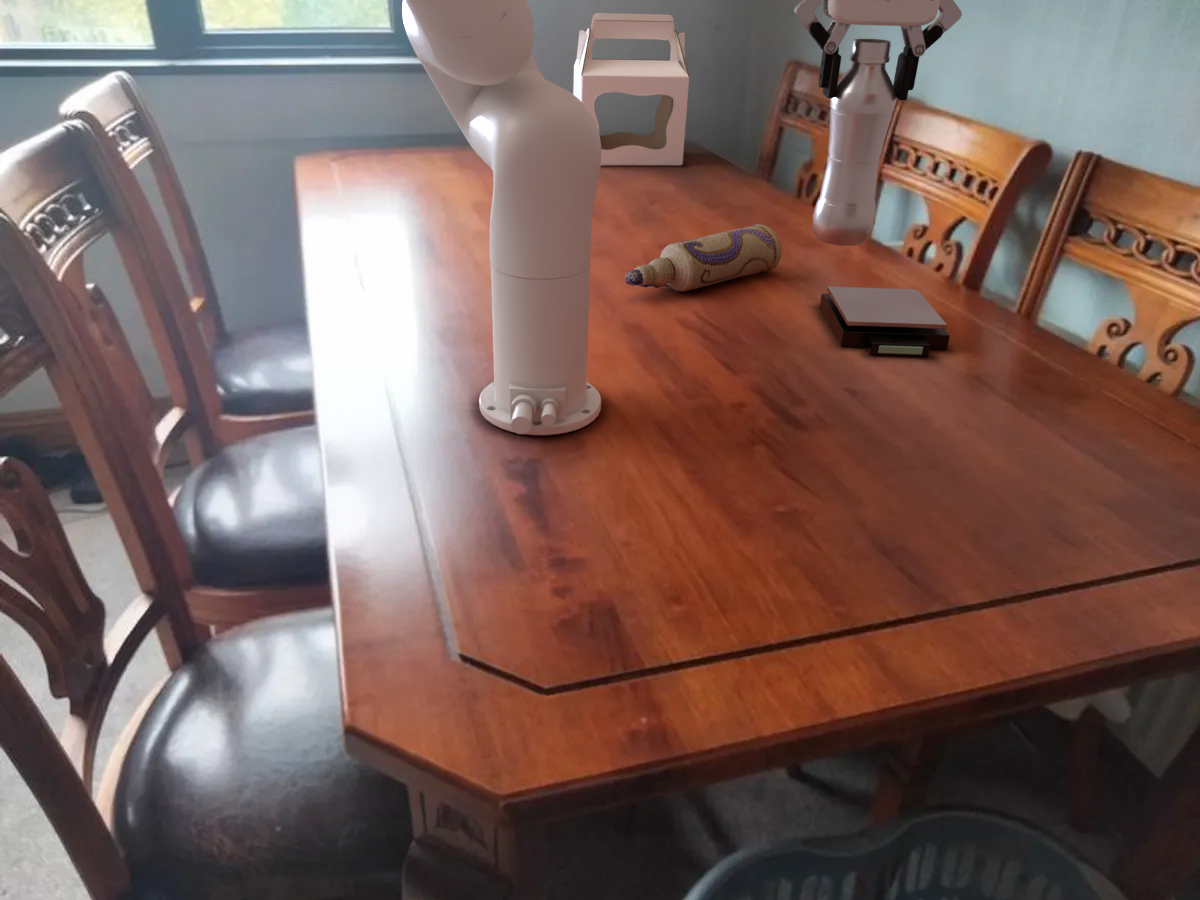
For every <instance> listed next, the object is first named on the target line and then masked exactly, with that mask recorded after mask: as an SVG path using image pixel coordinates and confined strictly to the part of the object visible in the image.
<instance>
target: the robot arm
mask: <svg viewBox="0 0 1200 900" xmlns="http://www.w3.org/2000/svg"><path fill="white" fill-rule="evenodd" d="M821 4H822V11H823V14H824V15H825V16H827V17H828V18H829V19H831V21H830V22H829V24H828V26H827V29H826V28H825V27H824V25H823V24H822V23H821V22H820V20H819V18H818V17H817V16H816V14H815V10H816V9H817V8H818V7H819V6H820V5H821ZM401 5H402V6H401V14H402V23H403V26H404V30H405V33H406V36H407V38H408V41H409V43H410V45H411V47H412V50H413V51H414V53H415V55H416V56H417V58H418V60H419V62H420V64H421V66H422V67H423V68H424V70H425V72H426V74H427V76H428V77H429V79H430V81H431V82H432V84H433V86H434V87H435V89H436V91H437V93H438V94H439V96H440V97H441V99H442V101H443V102H444V104H445V106H446V108H447V109H448V111H449V113H450V114H451V117H452V118H453V120H454V121H455V123H456V124H457V126H458V127H459V129H460V131H461V132H462V134H463V136H464V137H465V140H466V141H467V142H468V143H469V146H470V147H471V148H472V149H473V151H474V152H475V153H476V155H477V156H478V157H479V158H480V159H481V160H482V161H483V162H484V163H485V164H486V165H487V166H488V167H489V168H490V169H491V170H492V172H493V173H492V175H493V188H492V199H491V206H490V207H491V208H490V215H489V216H490V217H489V264H490V282H491V284H490V285H491V317H492V319H491V320H492V353H493V354H492V355H493V381H491V382H490V383H489V384H488V385H486V386H485V387H484V388H483V389H482V391H481V393H480V394H479V398H478V403H479V411H480V414H481V415H482V417H483V418H484V420H486V421H488V422H489V423H490V424H491V425H493V426H495V427H496V428H499V429H502V430H505V431H508V432H511V433H515V434H517V435H529V436H552V435H561V434H566V433H570V432H573V431H577V430H580V429H583V428H584V427H586V426H588V425H589V424H591V423H593V421H595V420H596V419H597V417H598V416H599V415H600V413H601V410H602V398H601V394H600V392H599V391H598V389H597V388H596V387H595V386H593V385H592V384H591V383H590V382H588V359H589V356H588V355H589V325H590V323H589V322H590V292H591V291H590V289H591V288H590V287H591V249H592V248H591V246H592V229H593V228H592V227H593V216H594V208H595V207H594V206H595V199H596V195H597V189H598V183H599V180H600V179H599V177H600V173H601V141H600V136H601V135H600V131H599V132H598V128H597V126H596V123H595V121H594V119H593V117H592V115H591V114H590V112H589V111H588V109H587V108H586V106H585V105H584V104H583V103H582V102H581V101H580V100H579V99H578V98H577V97H576V96H574V95H573V92H570V91H569V90H567V89H565V88H564V87H561V86H560V85H558V84H556V83H553V82H552V81H550V80H548V79H545V78H544V76H543V73H542V72H541V70H540V68H539V67H538V64H537V63H536V61H535V58H534V57H533V55H532V51H533V49H534V42H535V23H534V18H533V14H532V10H531V6H530V5H529V2H528V0H402V3H401ZM793 12H794V14H795V15H796V17H797V18H798V19H799V21H800V22H801V24H802V25H803V26H804V28H805V29H806V30H807V32H808V33H809V35H810V37H812V39H813V40H814V42H815V43H817V45H818V46H819V49H821V50H822V53H821V61H820V69H819V74H818V75H819V76H818V82H817V83H818V88H819V89H820V88H821V89H822V95H823V96H824V97H825V98H827V99H831V98H833V97H835V96H836V91H837V84H838V82H839V76H840V70H841V64H842V55H841V54H840V53H839V51H840V45H841V43H842V41H843V40H844V38H845V37H846V34H847V32H848V30H849V29H850V27H851V25H853V26H855V25H857V26H885V27H886V26H887V27H889V26H890V27H900V30H901V36H902V40H903V44H904V46H903V50H902V52H901V51H900V54H898V56H897V60H896V61H897V62H896V67H895V73H894V78H893V82H892V84H893V87H894V90H895V95H896V99H898V100H899V101H907V99H908V95H909V92H910V91H914V88H915V83H916V77H917V73H918V66H919V62H920V61H919V60H920V58H921V57H922V56H924V55H925V53H926V51H927V50H928V49H930V47H931V46H933V45H934V44H935V43H936V42H937V41H938V40H940V39H941V38H942V36H943V34H945V33H946V32H948V30H949V29H951V28H952V27H953V26H954V25H955V24H956V23H957V22H958V21H959V20H960V19H961V18H962V15H963V12H962V10H961V9H960V7H959V6H958V5H957V3H956V2H955V1H954V0H800V2H798V3H797V4H796V5H795V6H794V9H793ZM938 12H939V15H938ZM937 16H938V17H937ZM928 24H929V25H928ZM926 25H927V26H926ZM923 26H926V27H925V28H924V29H923V28H922V27H923Z"/></svg>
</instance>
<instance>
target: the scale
mask: <svg viewBox="0 0 1200 900" xmlns="http://www.w3.org/2000/svg"><path fill="white" fill-rule="evenodd" d="M826 291H827V293H821V295H820V301H819V310H820V312H821V313H822V315H823V316H824V319H825V320H826V322H827V324H828V326H829V328H830V330H831V332H832V333H833V335H834V337H835V339H836V341H837V342H838V345H839V346H840V347H841V348H865V349H866V351H867V353H868V354H869V356H879V357H881V356H882V357H904V358H905V357H907V358H909V357H910V358H928V357H929V353H930V351H947V349H948V345H949V341H950V337H951V335H950V334H949V332H948V331H947V330H946V329H947V325H948V324H947V322H946V321H945V320H944V319H943V318H942V316H941V315H940V314H939V313H938V312H937V311H936V309H935V308H934V307H933V305H931V303H930V302H929V301H928V300H927V299H926V297H924V295H923V294H922V293H921V291H920V290H919V289H917V288H916V289H915V288H886V287H858V286H854V287H853V286H829V285H828V286H827V288H826Z"/></svg>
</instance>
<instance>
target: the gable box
mask: <svg viewBox="0 0 1200 900" xmlns="http://www.w3.org/2000/svg"><path fill="white" fill-rule="evenodd" d="M597 39H598V40H602V39H616V40H620V39H622V40H658V41H659V40H662V41H663V42H664V41H668V43H669V45H670V46H669V58H668V59H635V58H634V59H633V58H629V59H628V58H627V59H625V58H593V44H594V42H595V41H596V40H597ZM689 88H690V74H689V70H688V67H687V63H686V32H685V31H679V32H677V30H676V29H675V19H674V17H673V16H672V15H671V14H669V13H667V14H665V13H664V14H663V13H626V12H625V13H624V12H620V13H619V12H594V13H593V14H592V16H591V21H590V28H589V27H588V28H587V30H586V31H585V30H584V29H579V30H578V39H577V47H576V58H575V61H574V64H573V92H572V94H573V95H574V96H576V97H577V98H578V99H579V100H580V101H581V102H582V103H583V104H584V105H585V106H586V108H587V109H588V111H589V112H590V114H591V115H592V117H593V119H594V121H595V123H596V126H597V128H598V132H599V133H600V124H599V120H598V117H597V114H596V111H595V102H596V99H597V98H598V97H599V96H601V95H603V94H608V93H620V94H626V95H631V96H637V97H647V96H656V95H661V97H660V101H659V103H658V106H657V108H656V111H655V114H654V131H653V133H652V134H651V135H649V136H643V135H639V134H637V133H634V132H629V131H617V132H612V133H608V134H604V135H599V136H600V141H601V166H602V167H603V166H604V167H605V166H609V167H610V166H611V167H614V166H617V167H619V166H625V167H626V166H627V167H628V166H633V167H634V166H636V167H637V166H640V167H641V166H642V167H643V166H645V167H647V166H648V167H649V166H651V167H653V166H654V167H656V166H657V167H659V166H660V167H662V166H663V167H667V166H670V167H673V166H674V167H675V166H679V167H681V166H683V165H684V152H685V140H686V128H687V127H686V125H687V116H688V115H687V113H688V101H689ZM601 166H600V167H601Z"/></svg>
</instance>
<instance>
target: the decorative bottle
mask: <svg viewBox="0 0 1200 900" xmlns="http://www.w3.org/2000/svg"><path fill="white" fill-rule="evenodd" d="M782 247H783V246H782V243H781V240H780V237H779V236H778V234H777V233H776V232H775V231H774V229H772V228H771V227H769V226H767V225H764V224H758V223H757V224H753V225H750V226H745V227H741V228H736V229H731V230H728V231H721V232H719V233H712V234H709V235H706V236H701V237H696V238H693V239H687V240H680V241H679V242H674V243H670V244H668V245H666V246H665V247H664V248H663V249H662V250H661V253H660V256H659V257H657V258H655V259H652V260H650V262H649V263H647V264H641V265H637V266H636V267H635V268H634V269H632V270H629V271H628V272H627V273H626V274H625V276H624V280H625V281H624V282H625V283H626V285H629V286H633V287H634V286H638V287H641V288H648V287H654V288H655V289H659V288H661V287H667V288H669V287H670V288H671V289H672V290H674V291H676V292H686V291H688V292H689V291H691V290H697V289H699V288H704V287H709V286H711V285H713V286H714V285H715V284H718V283H719V284H720V283H722V282H725V281H726V282H727V281H731V280H734V279H737V278H740V277H746V276H752V275H755V274H757V273H761V272H768V271H771V270H774V269H776V268H777V267H778V266H779V264H780V262H781V260H782V256H783V255H782V254H783V253H782V252H783V250H782V249H783V248H782Z"/></svg>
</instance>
